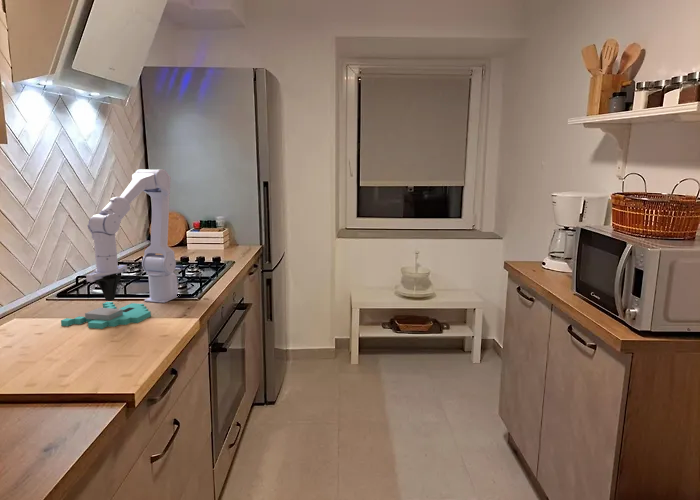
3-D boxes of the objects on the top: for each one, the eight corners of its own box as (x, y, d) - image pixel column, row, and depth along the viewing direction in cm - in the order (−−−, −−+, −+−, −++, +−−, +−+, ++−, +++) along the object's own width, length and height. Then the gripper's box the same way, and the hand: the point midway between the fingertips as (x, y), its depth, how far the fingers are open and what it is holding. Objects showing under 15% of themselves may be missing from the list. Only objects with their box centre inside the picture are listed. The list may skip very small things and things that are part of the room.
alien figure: (61, 327, 144) (123, 332, 140) (60, 320, 144) (122, 325, 140) (107, 308, 163) (163, 311, 160) (107, 301, 163) (162, 305, 159)
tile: (99, 307, 151) (84, 313, 145) (122, 309, 149) (108, 315, 144) (100, 312, 151) (85, 318, 146) (123, 314, 150) (109, 320, 144)
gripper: (112, 250, 154) (115, 293, 157) (75, 259, 141) (80, 305, 143) (131, 251, 153) (135, 294, 155) (96, 260, 139) (100, 307, 141)
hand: (110, 300), depth 149 cm, fingers closed
